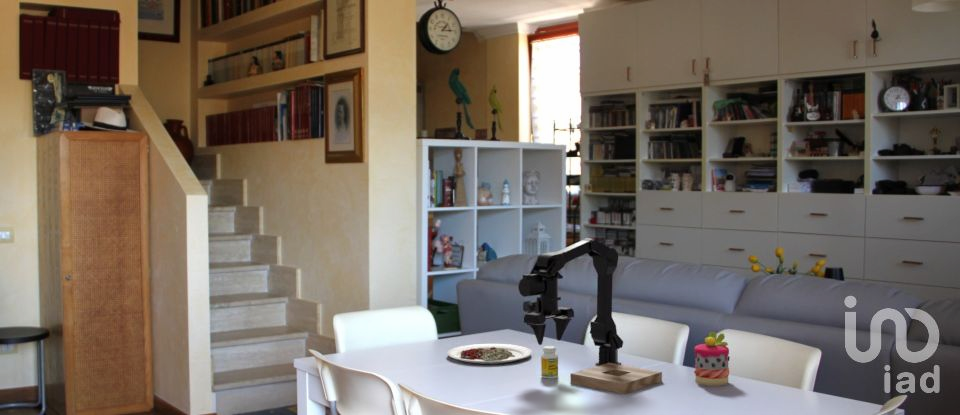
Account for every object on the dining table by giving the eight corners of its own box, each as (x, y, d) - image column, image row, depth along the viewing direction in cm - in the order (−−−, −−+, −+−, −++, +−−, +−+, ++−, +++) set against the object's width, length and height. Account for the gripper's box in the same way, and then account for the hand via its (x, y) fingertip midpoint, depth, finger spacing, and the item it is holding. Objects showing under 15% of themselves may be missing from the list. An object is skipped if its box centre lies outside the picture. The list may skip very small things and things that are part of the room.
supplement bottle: (551, 374, 281) (550, 344, 281) (561, 377, 277) (561, 347, 276) (538, 376, 278) (537, 346, 278) (548, 379, 274) (548, 349, 273)
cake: (728, 387, 261) (728, 337, 260) (692, 385, 264) (691, 336, 264) (730, 379, 270) (730, 331, 270) (696, 377, 274) (695, 330, 273)
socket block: (609, 371, 283) (608, 362, 283) (661, 381, 269) (661, 371, 269) (570, 383, 269) (570, 373, 269) (624, 393, 255) (624, 383, 255)
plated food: (549, 358, 306) (549, 349, 306) (478, 370, 289) (478, 360, 289) (499, 345, 330) (499, 336, 330) (431, 355, 314) (431, 346, 313)
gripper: (548, 288, 289) (548, 335, 289) (510, 294, 275) (511, 343, 276) (574, 291, 281) (575, 339, 282) (537, 297, 268) (537, 348, 268)
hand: (549, 342), depth 277 cm, fingers open, 9 cm apart
